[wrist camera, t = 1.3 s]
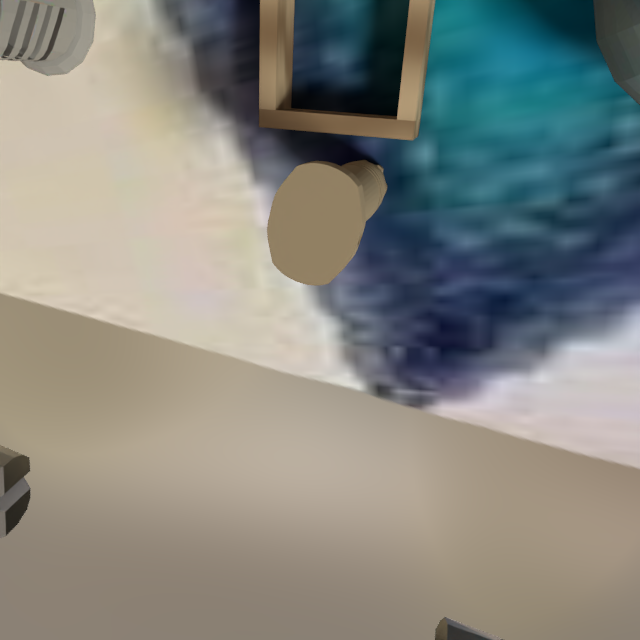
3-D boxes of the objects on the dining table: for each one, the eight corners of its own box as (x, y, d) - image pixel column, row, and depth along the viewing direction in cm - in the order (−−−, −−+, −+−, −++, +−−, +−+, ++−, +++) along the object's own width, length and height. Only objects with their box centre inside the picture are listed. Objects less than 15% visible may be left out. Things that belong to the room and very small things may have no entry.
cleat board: (468, 140, 38) (457, 187, 20) (232, 120, 42) (51, 145, 24) (504, -78, 33) (530, -271, 15) (230, -78, 37) (-3, -229, 19)
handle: (326, 210, 43) (257, 266, 29) (350, 129, 40) (284, 150, 27) (383, 230, 42) (339, 297, 29) (411, 149, 39) (376, 181, 26)
